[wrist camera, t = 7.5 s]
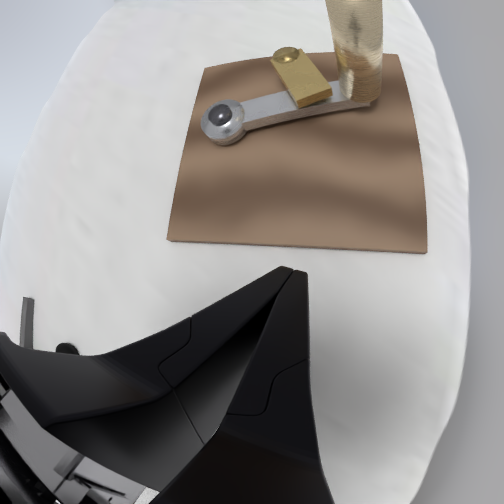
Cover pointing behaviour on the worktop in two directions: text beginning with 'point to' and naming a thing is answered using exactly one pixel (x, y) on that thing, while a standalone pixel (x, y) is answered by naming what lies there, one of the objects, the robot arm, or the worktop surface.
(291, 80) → the plate
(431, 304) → the worktop surface
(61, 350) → the door handle
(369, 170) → the walnut board
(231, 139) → the beige lever tool
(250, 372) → the robot arm
